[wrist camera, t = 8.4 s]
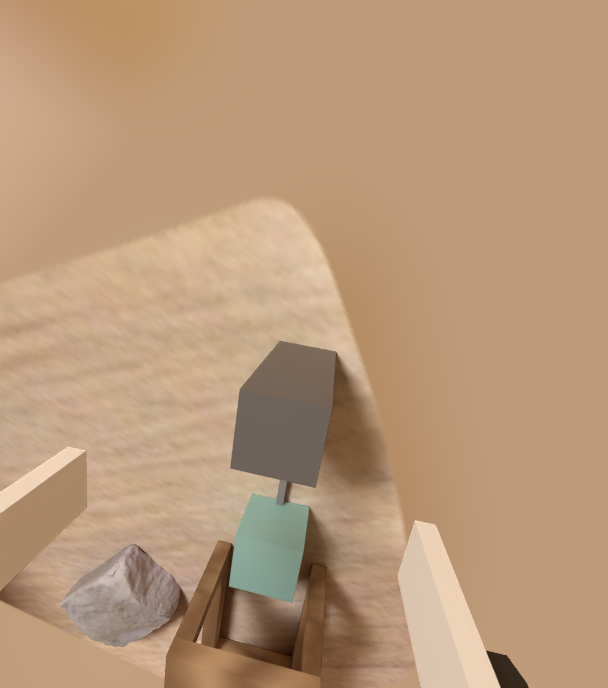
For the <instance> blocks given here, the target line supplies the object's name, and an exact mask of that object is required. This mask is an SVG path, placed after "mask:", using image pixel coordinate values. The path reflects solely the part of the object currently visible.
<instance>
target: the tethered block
mask: <svg viewBox="0 0 608 688" xmlns="http://www.w3.org/2000/svg"><path fill="white" fill-rule="evenodd" d="M335 359H336V352H334V351H329V350H324V349H319V348H314V347H308V346H303V345H298V344H293V343H288V342H283V341H280V342H279V343H278V344H277V345H276V346H275V348H274V349H273V350H272V351H271V352H270V354H269V355H268V356H267V357H266V358H265V360H264V361H263V362H262V363H261V364H260V366H259V367H258V368H257V369H256V370H255V372H254V373H253V374H252V375H251V376H250V378H249V379H248V380H247V381H246V382H245V384H244V385H243V386H242V387H241V388H240V392H239V400H238V409H237V417H236V425H235V434H234V442H233V450H232V459H231V467H230V468H231V469H235V470H240V471H244V472H248V473H253V474H257V475H262V476H266V477H270V478H275V479H279V480H280V483H279V489H278V495H277V499H273V498H269V497H265V496H261V495H256V494H252V495H251V498H250V500H249V503H248V505H247V508H246V510H245V513H244V515H243V518H242V520H241V523H240V525H239V528H238V531H237V533H236V537H235V544H234V552H233V559H232V567H231V574H230V581H229V587H233V588H237V589H241V590H245V591H249V592H253V593H256V594H260V595H264V596H268V597H272V598H276V599H280V600H284V601H287V602H291V603H293V599H294V594H295V589H296V585H297V580H298V575H299V570H300V566H301V561H302V556H303V552H304V544H305V537H306V529H307V522H308V514H309V507H308V506H303V505H299V504H295V503H291V502H286V501H284V498H285V492H286V487H287V481H288V482H292V483H297V484H301V485H305V486H310V487H314V488H316V483H317V478H318V474H319V469H320V464H321V459H322V455H323V450H324V445H325V441H326V436H327V431H328V426H329V422H330V417H331V412H332V405H333V390H334V375H335Z"/></svg>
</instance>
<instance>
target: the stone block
mask: <svg viewBox="0 0 608 688" xmlns="http://www.w3.org/2000/svg"><path fill="white" fill-rule="evenodd" d="M180 591H181V588H180V586H179V585H178V584H177V582H176V581H175V579H174V578H173V576H172V575H171V574H170V573H169V572H167V571H166V570H165V569H163V568H162V567H161V566H160V565H158V564H156V563H155V562H154V561H153V560H152V558H151V557H150V556H149V555H148V554H146V553H144V552H143V551H142V550H141V549H140V548H139V547H138V546H137V545H135V544H133V545H130V546H128V547H126V548H125V549H124V550H122V551H121V552H119V553H118V554H117V555H115V556H114V557H112V558H111V559H109V560H108V561H107V562H105V563H104V564H102V565H101V566H99V567H98V568H97V569H95V570H94V571H93V572H91V573H90V574H88V575H86V576H85V577H84V578H82V579H81V580H80V581H79V582H78V583H77V584H76V585H75V586H74V587H73V588H72V589H71V590H70V592H69V593H68V594H67V595H66V596H65V598H64V599H63V600H62V601H61V603H60V607H63V608H65V610H66V611H67V613H68V614H69V616H70V617H71V619H72V620H73V621H74V622H75V623H76V625H77V627H78V628H79V629H80V630H82V631H83V632H84V634H85V635H88V637H89V638H90V639H92V640H95V641H99V642H102V643H104V644H105V645H112V646H114V647H124V646H126V645H127V644H128V643H130V642H135V641H137V640H140V639H142V638H143V637H145V636H147V635H148V634H149V633H151V632H152V631H153V630H155V629H158V628H159V627H161V626H162V625H163V624H165V623H166V622H167V621H169V620H170V619H171V618H172V617H173V614H174V613H175V611H176V609H177V606H178V604H179V598H180Z"/></svg>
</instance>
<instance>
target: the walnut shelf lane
mask: <svg viewBox="0 0 608 688" xmlns="http://www.w3.org/2000/svg"><path fill="white" fill-rule="evenodd" d="M230 552H231V544H230V543H226V542H222V541H218V542H217V545H216V547H215V549H214V551H213V553H212V556H211V558H210V560H209V562H208V564H207V567H206V569H205V571H204V573H203V576H202V578H201V580H200V582H199V584H198V587H197V589H196V591H195V593H194V596H193V598H192V600H191V602H190V604H189V607H188V609H187V611H186V613H185V615H184V618H183V620H182V622H181V624H180V627H179V629H178V631H177V633H176V635H175V638H174V640H173V642H172V644H171V646H170V649H169V651H168V653H167V655H166V669H165V685H164V688H320V684H321V664H322V645H323V625H324V605H325V586H326V567H323V566H319V565H315V564H312V569H311V573H310V578H309V582H308V586H307V591H306V595H305V600H304V604H303V609H302V613H301V618H300V622H299V627H298V631H297V635H296V640H295V644H294V649H293V653H292V657H291V656H288V655H284V654H280V653H277V652H273V651H269V650H266V649H262V648H258V647H255V646H251V645H247V644H244V643H240V642H236V641H233V640H229V639H225V638H222V637H219V636H220V628H221V621H222V613H223V605H224V598H225V590H226V582H227V575H228V567H229V559H230ZM202 626H203V633H202V642H201V644H198V643H196V641H197V638H198V636H199V633H200V631H201V628H202Z"/></svg>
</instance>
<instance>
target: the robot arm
mask: <svg viewBox="0 0 608 688" xmlns="http://www.w3.org/2000/svg"><path fill="white" fill-rule="evenodd" d="M86 508H87V463H86V450H82V449H77V448H73V447H67V448H65V449H64V450H62V451H61V452H59V453H58V454H56V455H55V456H53V457H52V458H50V459H49V460H47V461H46V462H44V463H43V464H41V465H40V466H38V467H37V468H35V469H34V470H32V471H31V472H29V473H28V474H26V475H25V476H23V477H22V478H20V479H19V480H17V481H16V482H14V483H13V484H11V485H10V486H8V487H7V488H5V489H4V490H2V491H1V492H0V591H1V590H2V589H3V588H4V587H5V586H6V585H7V584H8V583H9V582H10V581H11V580H12V579H13V578H14V577H15V576H16V575H17V574H18V573H19V572H20V571H21V570H22V569H23V568H24V567H26V566H27V565H28V564H29V563H30V562H31V561H32V560H33V559H34V558H35V557H36V556H37V555H38V554H39V553H40V552H41V551H42V550H43V549H44V548H45V547H46V546H47V545H48V544H49V543H50V542H51V541H52V540H54V539H55V538H56V537H57V536H58V535H59V534H60V533H61V532H62V531H63V530H64V529H65V528H66V527H67V526H68V525H69V524H70V523H71V522H72V521H73V520H74V519H75V518H76V517H77V516H78V515H79V514H80V513H82V512H83V511H84V510H85V509H86ZM398 581H399V586H400V591H401V596H402V601H403V605H404V610H405V615H406V620H407V625H408V629H409V634H410V639H411V644H412V649H413V653H414V658H415V663H416V668H417V673H418V677H419V682H420V687H421V688H528V685H527V683H526V682H525V680H524V679H523V677H522V676H521V675H520V673H519V672H518V670H517V669H516V668H515V667H514V665H513V664H512V662H511V661H510V659H509V658H508V657H507V655H502V654H498V653H494V652H489V651H486V650H485V648H484V645H483V643H482V640H481V638H480V635H479V633H478V630H477V628H476V625H475V622H474V620H473V618H472V615H471V613H470V610H469V607H468V605H467V602H466V600H465V597H464V595H463V592H462V590H461V587H460V585H459V582H458V580H457V577H456V575H455V572H454V570H453V567H452V565H451V562H450V560H449V557H448V555H447V553H446V550H445V547H444V545H443V542H442V540H441V537H440V535H439V532H438V530H437V528H436V525H434V524H430V523H425V522H420V521H415V523H414V526H413V529H412V532H411V535H410V538H409V541H408V544H407V547H406V551H405V554H404V557H403V560H402V563H401V566H400V569H399V573H398Z"/></svg>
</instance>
